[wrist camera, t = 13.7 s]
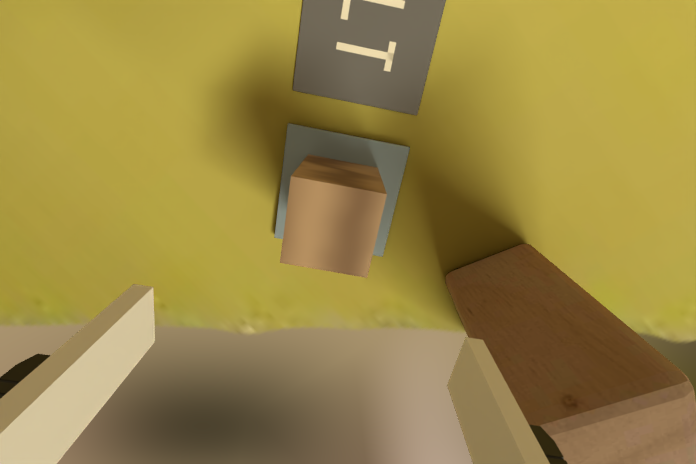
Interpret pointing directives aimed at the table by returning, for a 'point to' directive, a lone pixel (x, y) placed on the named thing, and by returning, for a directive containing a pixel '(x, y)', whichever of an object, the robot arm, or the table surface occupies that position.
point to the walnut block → (333, 216)
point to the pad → (350, 150)
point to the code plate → (367, 50)
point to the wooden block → (575, 363)
